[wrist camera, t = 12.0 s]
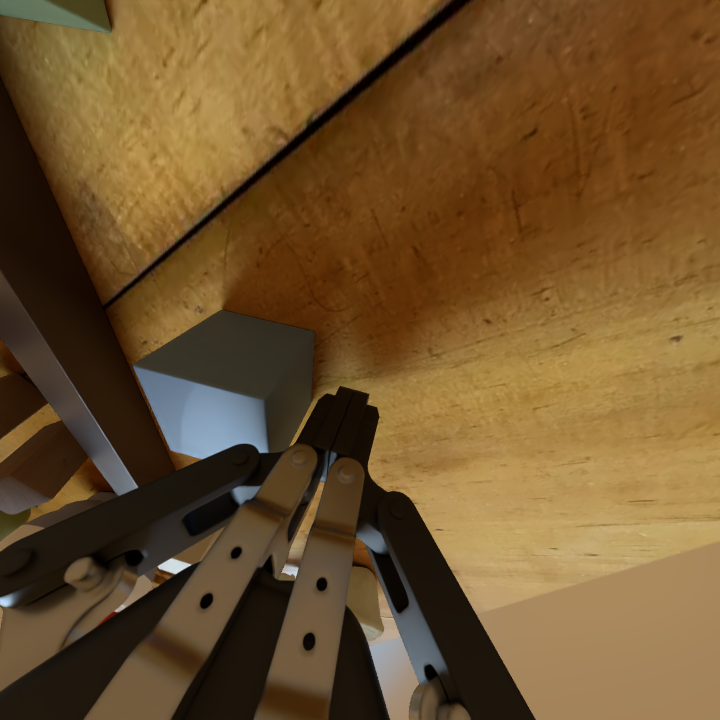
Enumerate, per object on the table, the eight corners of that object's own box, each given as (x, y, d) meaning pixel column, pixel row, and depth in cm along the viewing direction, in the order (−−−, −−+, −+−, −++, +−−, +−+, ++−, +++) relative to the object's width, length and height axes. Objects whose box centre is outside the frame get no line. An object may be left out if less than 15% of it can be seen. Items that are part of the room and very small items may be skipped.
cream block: (231, 506, 26) (195, 566, 22) (237, 528, 29) (206, 584, 25) (185, 492, 26) (142, 548, 22) (195, 515, 29) (158, 568, 25)
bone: (257, 560, 35) (218, 650, 28) (279, 527, 26) (229, 647, 19) (348, 597, 36) (330, 691, 29) (400, 577, 27) (390, 706, 20)
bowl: (186, 550, 37) (139, 622, 31) (87, 509, 36) (17, 576, 30) (189, 511, 29) (125, 600, 23) (61, 457, 28) (-43, 535, 22)
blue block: (315, 330, 13) (265, 399, 9) (311, 403, 16) (272, 480, 12) (220, 308, 13) (130, 364, 9) (233, 383, 16) (169, 451, 12)
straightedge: (-213, -401, 5) (-727, -873, 3) (188, 500, 27) (165, 531, 25) (-324, -405, 6) (-888, -848, 3) (162, 492, 28) (137, 522, 25)
